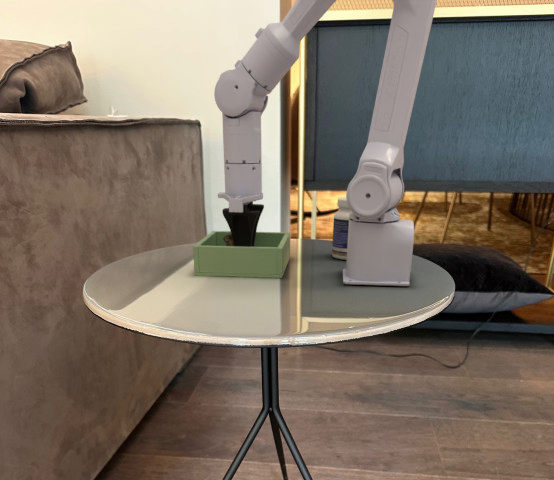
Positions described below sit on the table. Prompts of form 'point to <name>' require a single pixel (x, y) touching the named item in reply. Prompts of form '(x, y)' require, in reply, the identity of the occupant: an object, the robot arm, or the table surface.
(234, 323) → the table surface
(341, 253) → the pill bottle
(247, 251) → the basket
